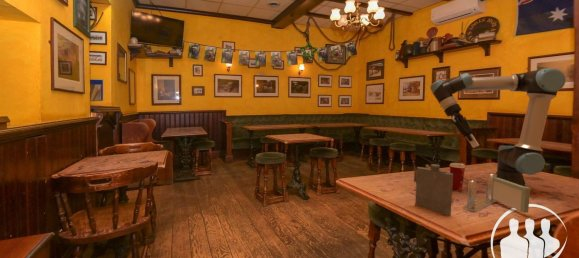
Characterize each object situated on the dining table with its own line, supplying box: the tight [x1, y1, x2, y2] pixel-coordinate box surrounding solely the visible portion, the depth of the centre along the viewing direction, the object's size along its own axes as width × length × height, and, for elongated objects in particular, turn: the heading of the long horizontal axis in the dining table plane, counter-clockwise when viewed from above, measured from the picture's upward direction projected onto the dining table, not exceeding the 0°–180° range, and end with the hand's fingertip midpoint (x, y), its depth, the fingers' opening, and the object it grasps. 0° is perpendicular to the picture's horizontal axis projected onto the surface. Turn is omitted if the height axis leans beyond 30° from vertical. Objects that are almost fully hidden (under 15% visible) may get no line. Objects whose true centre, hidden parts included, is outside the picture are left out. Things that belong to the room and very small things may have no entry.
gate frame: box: [462, 172, 498, 213], centre depth 135 cm, size 25×5×13 cm, turn 127°
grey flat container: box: [413, 163, 431, 182], centre depth 178 cm, size 11×3×10 cm, turn 113°
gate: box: [493, 178, 531, 214], centre depth 130 cm, size 18×2×10 cm, turn 3°
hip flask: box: [414, 163, 453, 217], centre depth 128 cm, size 16×4×20 cm, turn 32°
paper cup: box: [449, 162, 466, 192], centre depth 160 cm, size 8×8×14 cm
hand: (476, 146), depth 146 cm, fingers closed
